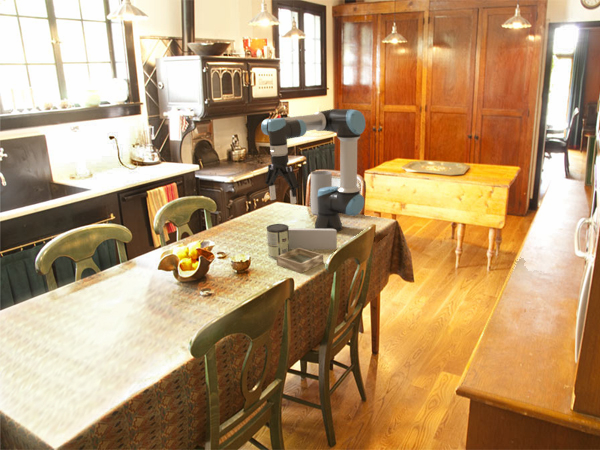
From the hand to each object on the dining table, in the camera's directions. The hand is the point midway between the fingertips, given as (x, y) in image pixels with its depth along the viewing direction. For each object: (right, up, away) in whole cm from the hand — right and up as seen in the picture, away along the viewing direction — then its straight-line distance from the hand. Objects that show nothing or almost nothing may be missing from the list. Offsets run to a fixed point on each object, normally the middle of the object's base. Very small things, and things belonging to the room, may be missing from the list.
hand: (283, 201), depth 219 cm
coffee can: (-3, -25, +13) cm, 29 cm away
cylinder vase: (+21, -3, +81) cm, 84 cm away
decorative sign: (+10, -22, +22) cm, 33 cm away
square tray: (+8, -28, +2) cm, 29 cm away
